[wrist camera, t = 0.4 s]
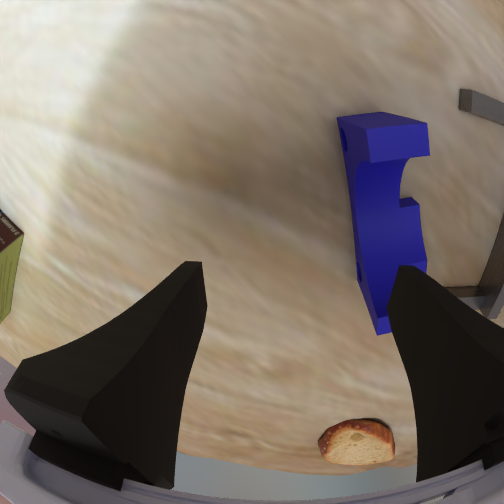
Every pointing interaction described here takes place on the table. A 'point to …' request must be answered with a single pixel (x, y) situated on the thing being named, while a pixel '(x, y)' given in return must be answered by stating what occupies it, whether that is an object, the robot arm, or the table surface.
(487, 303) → the rail
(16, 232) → the protein box
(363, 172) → the cable clip
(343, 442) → the bread slice
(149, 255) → the table surface
